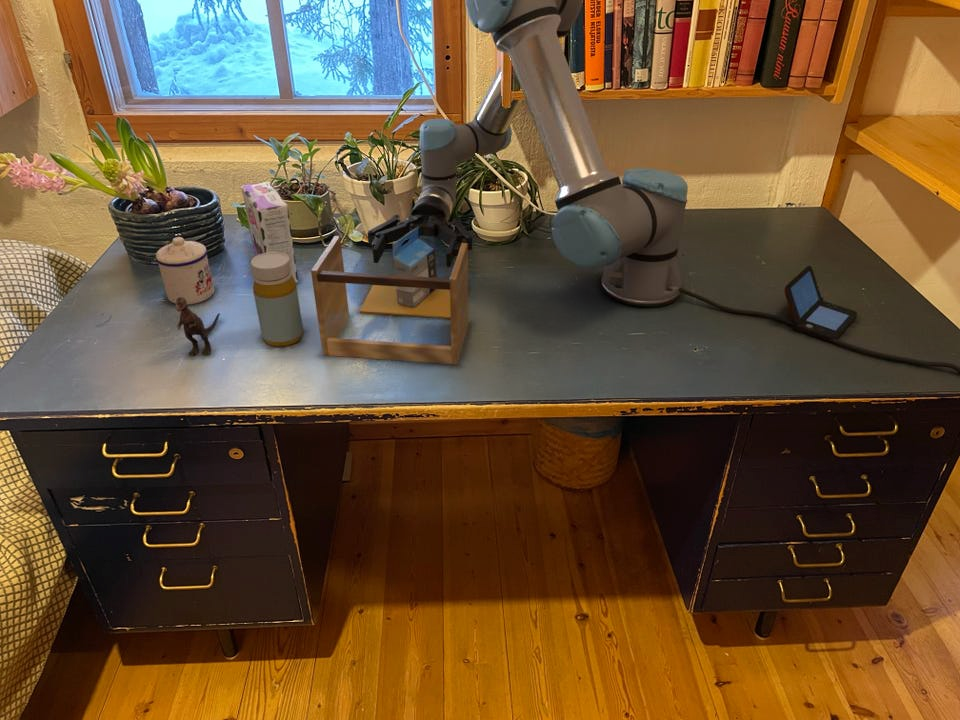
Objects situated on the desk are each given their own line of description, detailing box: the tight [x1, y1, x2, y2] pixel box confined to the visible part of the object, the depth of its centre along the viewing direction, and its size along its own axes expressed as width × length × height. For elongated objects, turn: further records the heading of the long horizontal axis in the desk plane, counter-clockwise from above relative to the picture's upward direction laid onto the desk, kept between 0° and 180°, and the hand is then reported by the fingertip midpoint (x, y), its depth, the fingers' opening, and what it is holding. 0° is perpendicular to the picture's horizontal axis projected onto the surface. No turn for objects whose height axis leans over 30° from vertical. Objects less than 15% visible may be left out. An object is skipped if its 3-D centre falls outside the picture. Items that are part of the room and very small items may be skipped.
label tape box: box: [392, 227, 437, 308], centre depth 137 cm, size 9×4×12 cm, turn 153°
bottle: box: [250, 252, 304, 348], centre depth 125 cm, size 7×7×15 cm
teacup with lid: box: [155, 236, 215, 306], centre depth 140 cm, size 12×9×12 cm
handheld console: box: [783, 265, 858, 342], centre depth 132 cm, size 12×11×7 cm
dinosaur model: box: [175, 297, 221, 357], centre depth 125 cm, size 4×12×15 cm
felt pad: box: [359, 285, 451, 320], centre depth 140 cm, size 18×12×1 cm, turn 83°
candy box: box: [240, 180, 299, 284], centre depth 145 cm, size 14×6×16 cm, turn 27°
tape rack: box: [310, 235, 469, 366], centre depth 124 cm, size 23×13×16 cm, turn 83°
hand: (411, 258), depth 135 cm, fingers open, 13 cm apart
